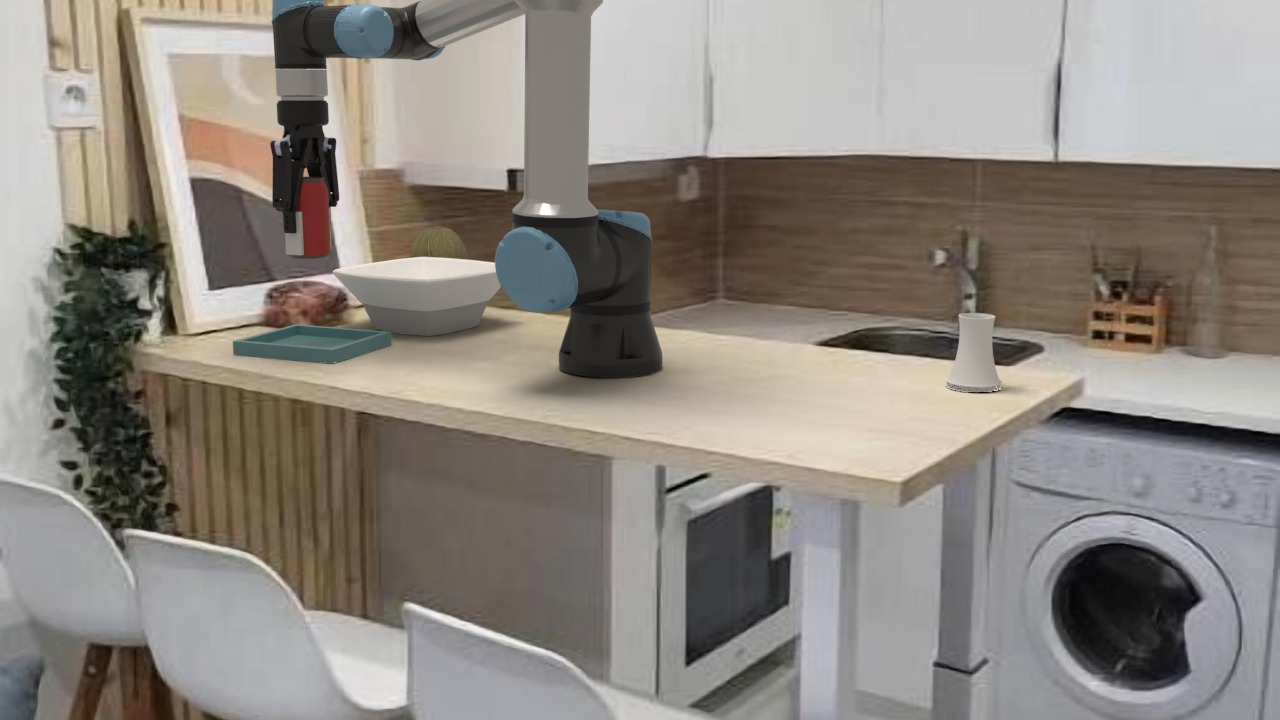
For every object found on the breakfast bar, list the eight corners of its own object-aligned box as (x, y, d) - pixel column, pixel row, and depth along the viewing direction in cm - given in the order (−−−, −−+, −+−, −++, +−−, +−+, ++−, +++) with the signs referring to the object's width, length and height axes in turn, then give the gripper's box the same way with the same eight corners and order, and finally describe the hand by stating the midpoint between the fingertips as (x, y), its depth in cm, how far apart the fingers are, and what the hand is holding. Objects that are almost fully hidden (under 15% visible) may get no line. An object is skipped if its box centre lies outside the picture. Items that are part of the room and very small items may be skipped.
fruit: (483, 305, 256) (481, 225, 253) (438, 313, 248) (436, 230, 245) (440, 299, 263) (438, 221, 260) (396, 306, 255) (393, 225, 252)
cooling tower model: (987, 380, 194) (991, 310, 192) (1010, 392, 186) (1015, 319, 184) (936, 382, 192) (940, 311, 190) (958, 394, 185) (961, 321, 183)
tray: (391, 344, 218) (390, 331, 218) (333, 363, 204) (332, 349, 204) (296, 336, 225) (295, 324, 225) (233, 354, 210) (232, 341, 210)
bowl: (321, 331, 231) (318, 270, 229) (425, 310, 251) (424, 254, 249) (427, 346, 217) (425, 282, 215) (529, 324, 237) (528, 265, 235)
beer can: (320, 260, 208) (316, 179, 205) (279, 258, 209) (275, 179, 207) (338, 254, 214) (334, 176, 212) (298, 253, 215) (295, 175, 213)
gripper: (319, 97, 217) (325, 243, 222) (240, 99, 199) (248, 258, 204) (359, 98, 214) (365, 246, 219) (283, 100, 197) (291, 260, 201)
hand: (309, 251), depth 211 cm, fingers closed on beer can, 6 cm apart
